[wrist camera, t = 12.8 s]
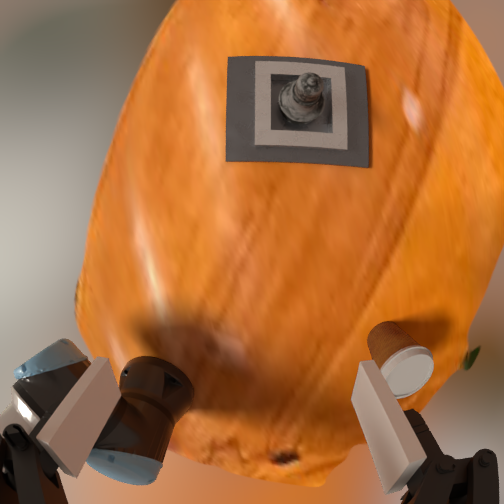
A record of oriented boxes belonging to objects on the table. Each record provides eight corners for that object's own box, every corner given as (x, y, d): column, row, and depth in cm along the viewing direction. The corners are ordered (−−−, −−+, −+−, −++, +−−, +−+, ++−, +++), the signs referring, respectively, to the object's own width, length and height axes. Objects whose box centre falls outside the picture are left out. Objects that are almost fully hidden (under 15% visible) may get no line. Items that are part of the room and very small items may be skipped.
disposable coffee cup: (348, 349, 45) (367, 394, 33) (379, 305, 42) (409, 343, 31) (385, 363, 45) (408, 405, 34) (415, 323, 43) (446, 360, 31)
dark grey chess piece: (268, 108, 34) (270, 80, 23) (295, 80, 33) (307, 44, 21) (302, 135, 35) (318, 117, 23) (328, 106, 34) (353, 80, 22)
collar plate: (226, 161, 37) (223, 160, 34) (228, 59, 33) (225, 50, 30) (366, 167, 37) (374, 167, 33) (362, 68, 32) (370, 60, 29)
